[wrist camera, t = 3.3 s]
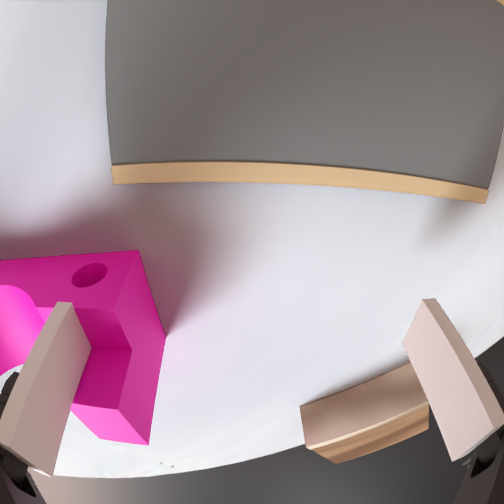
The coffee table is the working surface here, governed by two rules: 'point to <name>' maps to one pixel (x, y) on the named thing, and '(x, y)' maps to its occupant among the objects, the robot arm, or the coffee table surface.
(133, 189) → the coffee table surface
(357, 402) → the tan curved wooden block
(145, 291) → the toy block
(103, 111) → the coffee table surface
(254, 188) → the coffee table surface
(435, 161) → the mat
